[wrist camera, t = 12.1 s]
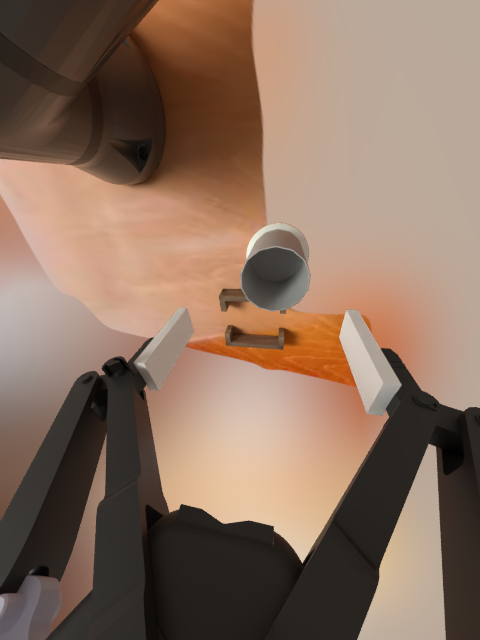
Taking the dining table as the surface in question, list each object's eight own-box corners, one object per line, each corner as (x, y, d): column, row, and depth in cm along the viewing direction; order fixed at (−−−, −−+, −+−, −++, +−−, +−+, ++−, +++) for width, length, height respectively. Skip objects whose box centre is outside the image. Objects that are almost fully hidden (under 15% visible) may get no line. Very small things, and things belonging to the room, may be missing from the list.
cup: (300, 222, 28) (307, 238, 20) (305, 275, 32) (313, 305, 24) (245, 237, 30) (231, 256, 22) (256, 284, 34) (248, 314, 26)
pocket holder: (223, 288, 37) (218, 296, 34) (286, 289, 34) (287, 297, 32) (229, 336, 44) (226, 345, 41) (283, 340, 41) (283, 349, 39)
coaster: (245, 224, 30) (244, 225, 29) (312, 221, 28) (313, 221, 27) (248, 284, 35) (248, 285, 35) (304, 284, 33) (304, 285, 33)
